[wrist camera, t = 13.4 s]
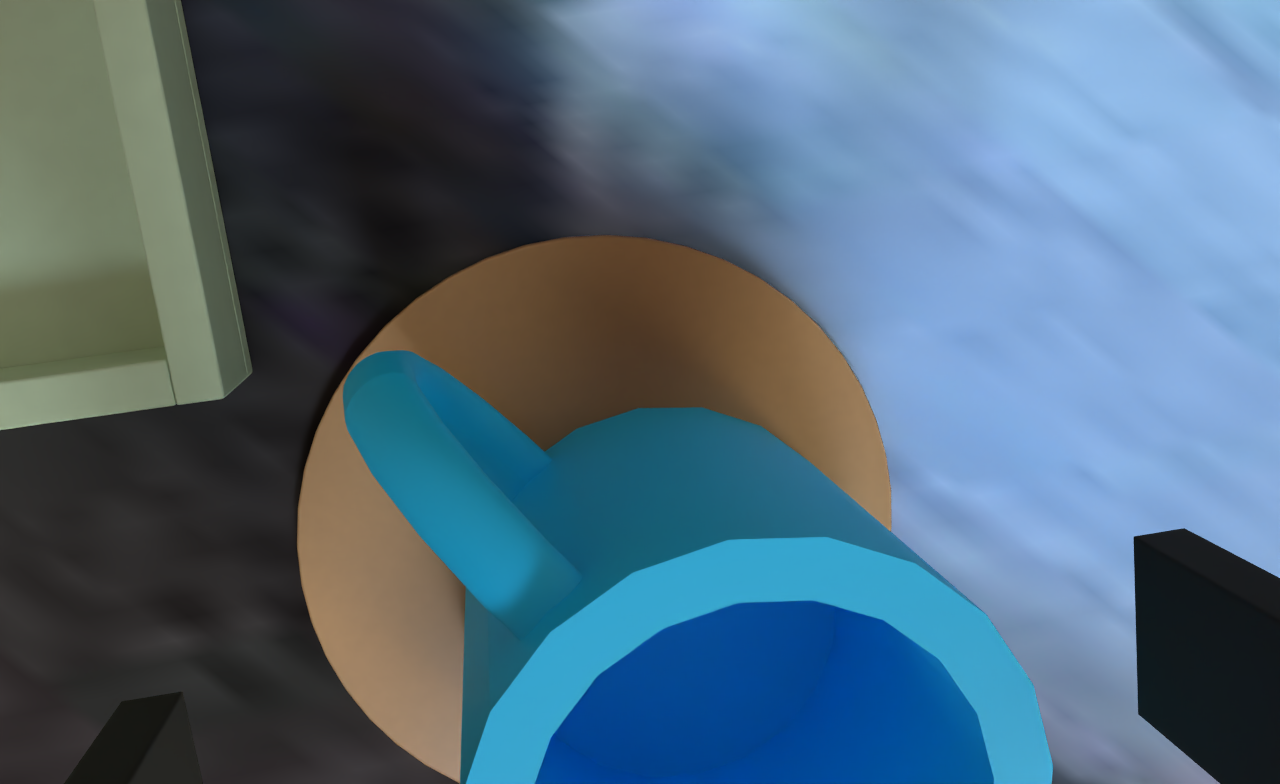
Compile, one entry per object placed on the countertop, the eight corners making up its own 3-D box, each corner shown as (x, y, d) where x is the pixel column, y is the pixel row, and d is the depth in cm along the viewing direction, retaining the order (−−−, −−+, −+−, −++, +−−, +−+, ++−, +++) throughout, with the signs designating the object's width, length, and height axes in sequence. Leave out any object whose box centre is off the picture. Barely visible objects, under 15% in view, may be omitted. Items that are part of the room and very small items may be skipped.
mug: (935, 591, 24) (1165, 800, 16) (660, 855, 24) (750, 1193, 16) (532, 176, 21) (565, 177, 13) (226, 481, 21) (74, 666, 13)
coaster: (862, 198, 22) (869, 198, 22) (904, 744, 25) (911, 753, 24) (246, 277, 21) (241, 280, 21) (355, 848, 23) (353, 859, 23)
